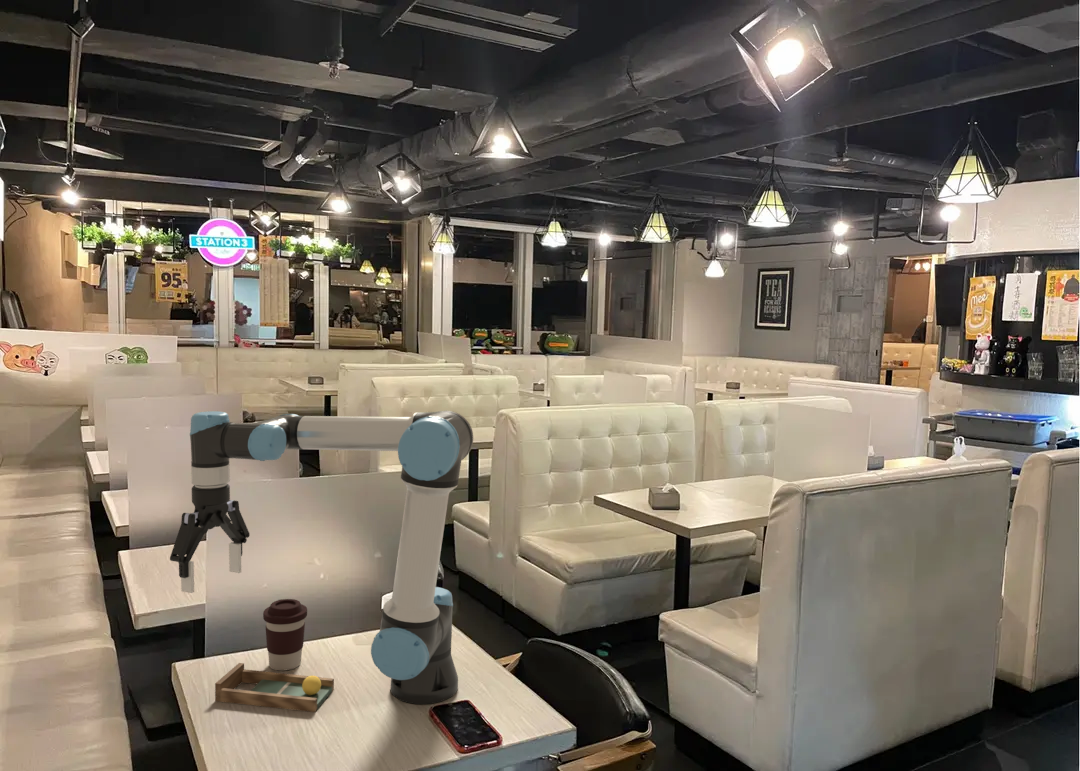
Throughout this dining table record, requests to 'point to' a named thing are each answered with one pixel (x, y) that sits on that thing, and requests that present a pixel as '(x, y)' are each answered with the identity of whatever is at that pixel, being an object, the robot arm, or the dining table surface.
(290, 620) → the coffee cup
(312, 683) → the ball
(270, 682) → the tray
